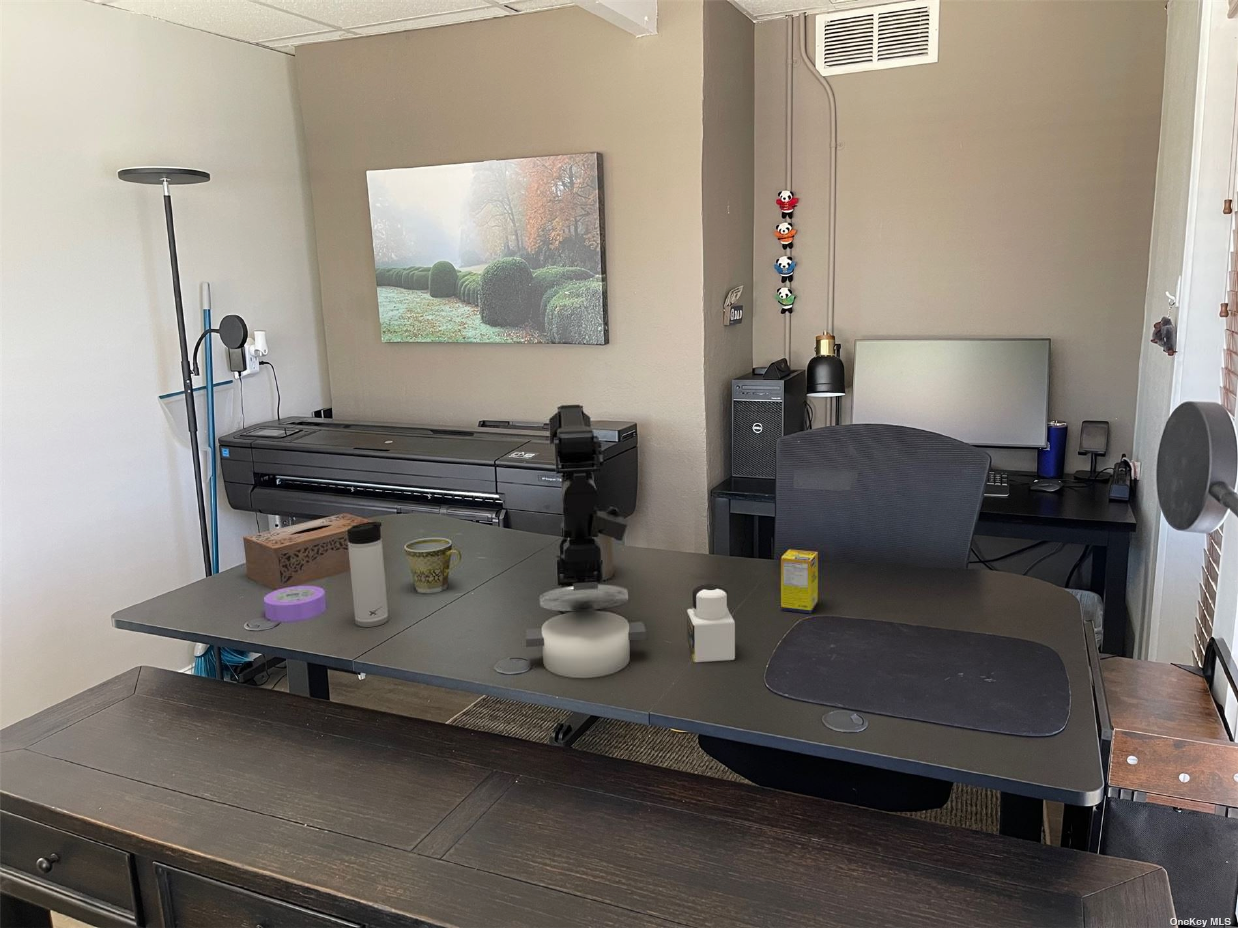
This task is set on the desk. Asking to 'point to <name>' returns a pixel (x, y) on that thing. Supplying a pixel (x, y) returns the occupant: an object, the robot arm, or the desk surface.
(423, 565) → the ceramic cup
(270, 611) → the masking tape
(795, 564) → the supplement box
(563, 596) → the cooker lid
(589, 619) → the cooker body
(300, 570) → the tissue box cover
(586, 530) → the robot arm
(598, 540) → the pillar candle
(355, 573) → the travel mug
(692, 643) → the medicine bottle
